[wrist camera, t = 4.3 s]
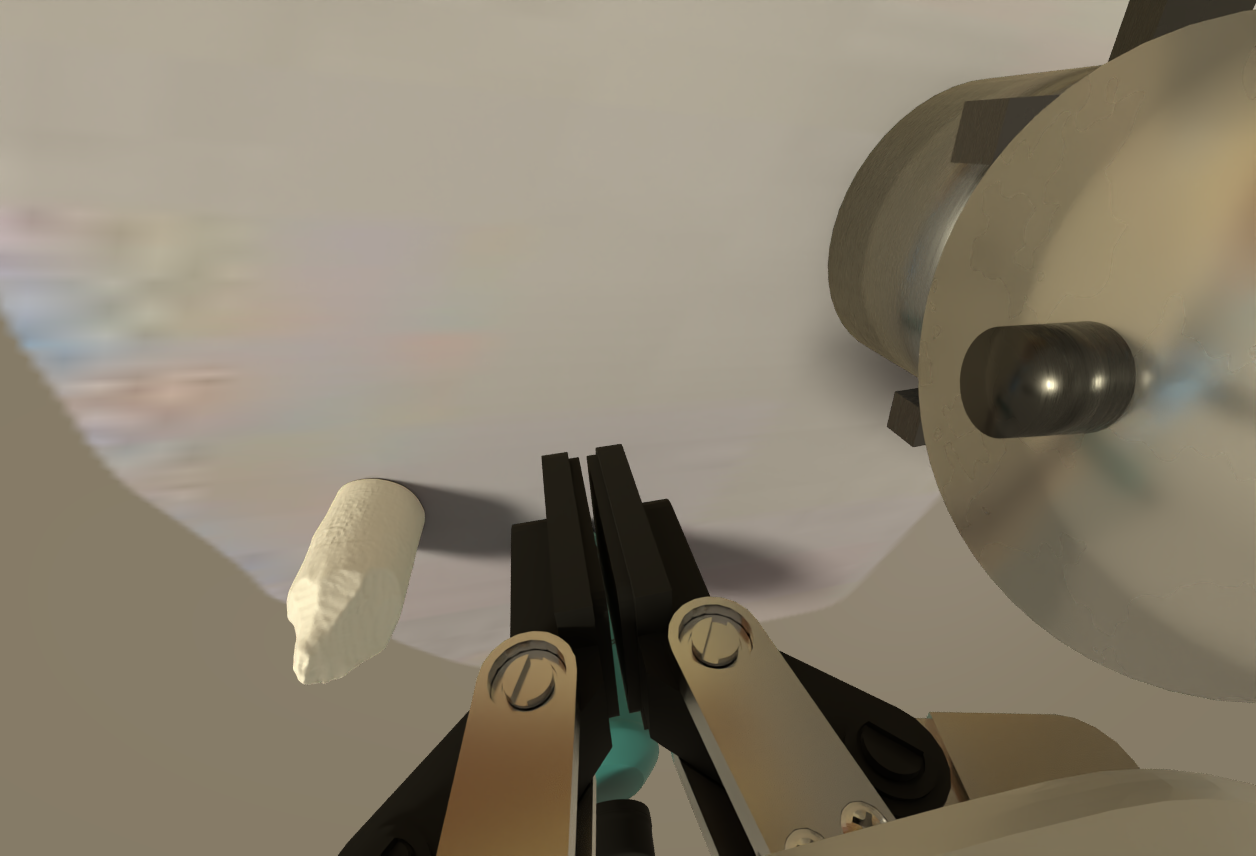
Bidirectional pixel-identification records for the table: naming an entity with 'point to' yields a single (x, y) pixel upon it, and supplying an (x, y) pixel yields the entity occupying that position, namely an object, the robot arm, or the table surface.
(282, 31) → the table surface
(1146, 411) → the cooker lid
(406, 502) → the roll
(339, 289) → the table surface
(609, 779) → the beverage bottle
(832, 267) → the cooker pot
